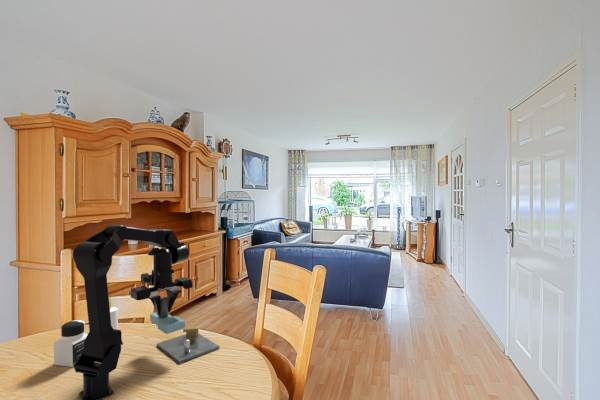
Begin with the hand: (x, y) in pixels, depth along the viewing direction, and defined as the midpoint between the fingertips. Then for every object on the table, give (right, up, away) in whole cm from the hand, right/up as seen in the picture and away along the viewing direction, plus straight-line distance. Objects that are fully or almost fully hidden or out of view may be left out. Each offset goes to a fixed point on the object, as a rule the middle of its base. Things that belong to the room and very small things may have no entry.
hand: (163, 313), depth 108 cm
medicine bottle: (-26, -13, -6) cm, 29 cm away
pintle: (+9, -12, -2) cm, 15 cm away
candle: (-24, -12, +9) cm, 28 cm away
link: (+1, -3, -1) cm, 4 cm away
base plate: (+7, -12, +2) cm, 14 cm away
